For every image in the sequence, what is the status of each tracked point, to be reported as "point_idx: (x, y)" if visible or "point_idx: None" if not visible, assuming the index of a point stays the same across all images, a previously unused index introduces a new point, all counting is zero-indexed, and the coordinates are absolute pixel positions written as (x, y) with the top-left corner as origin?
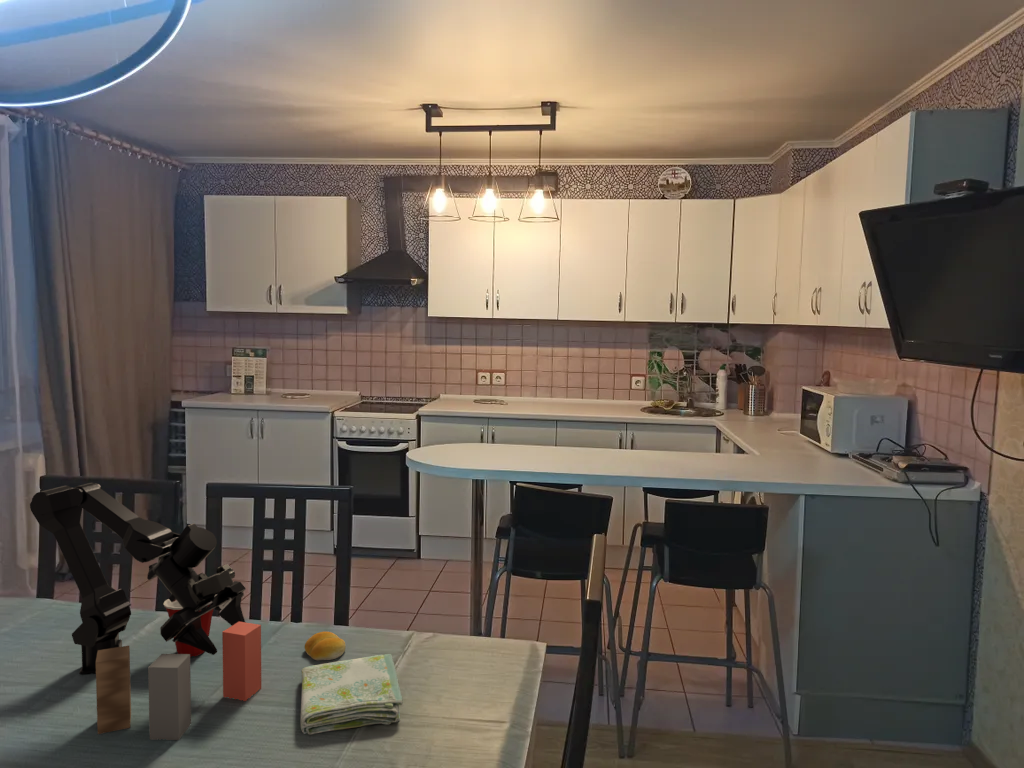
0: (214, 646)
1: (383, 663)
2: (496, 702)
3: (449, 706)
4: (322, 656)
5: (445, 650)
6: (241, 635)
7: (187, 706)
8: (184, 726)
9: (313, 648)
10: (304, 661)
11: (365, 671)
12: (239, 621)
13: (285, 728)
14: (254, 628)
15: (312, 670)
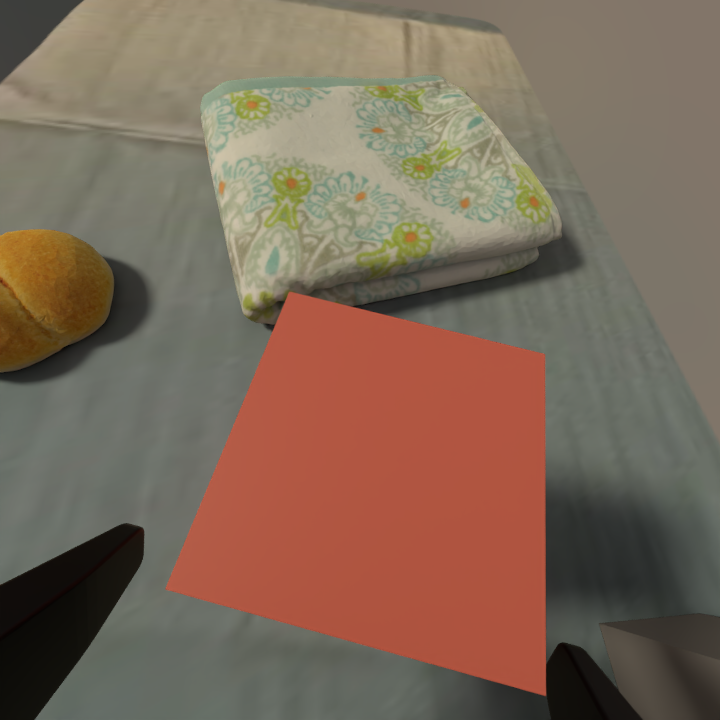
0: (599, 696)
1: (284, 89)
2: (348, 25)
3: (369, 69)
4: (109, 290)
5: (116, 68)
6: (540, 392)
7: (714, 643)
8: (677, 622)
9: (56, 313)
10: (103, 359)
11: (318, 126)
12: (5, 660)
13: (521, 306)
14: (377, 321)
15: (311, 246)
